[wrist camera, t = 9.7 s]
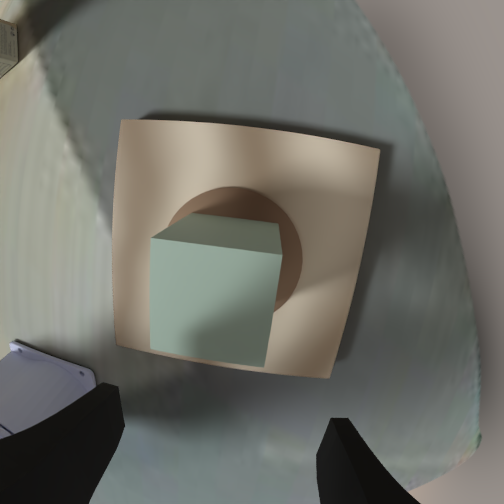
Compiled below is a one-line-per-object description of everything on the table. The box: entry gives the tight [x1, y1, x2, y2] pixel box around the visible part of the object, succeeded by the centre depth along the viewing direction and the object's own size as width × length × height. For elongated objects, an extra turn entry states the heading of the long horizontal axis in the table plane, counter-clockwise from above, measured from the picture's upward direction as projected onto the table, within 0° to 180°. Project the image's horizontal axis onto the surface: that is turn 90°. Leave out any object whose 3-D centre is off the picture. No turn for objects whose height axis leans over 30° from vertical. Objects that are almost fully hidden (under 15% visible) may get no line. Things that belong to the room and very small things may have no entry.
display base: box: [112, 120, 380, 379], centre depth 18 cm, size 14×14×2 cm
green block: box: [150, 213, 282, 368], centre depth 14 cm, size 4×4×6 cm
